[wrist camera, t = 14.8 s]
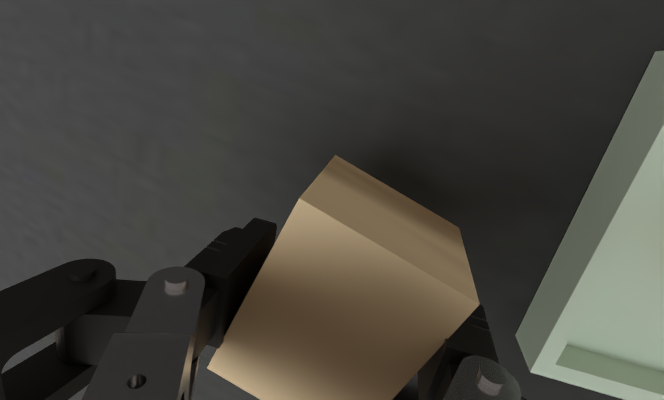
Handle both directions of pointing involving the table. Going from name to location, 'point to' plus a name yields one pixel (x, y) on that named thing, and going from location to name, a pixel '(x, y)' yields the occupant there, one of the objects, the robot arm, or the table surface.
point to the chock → (349, 295)
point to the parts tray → (610, 267)
